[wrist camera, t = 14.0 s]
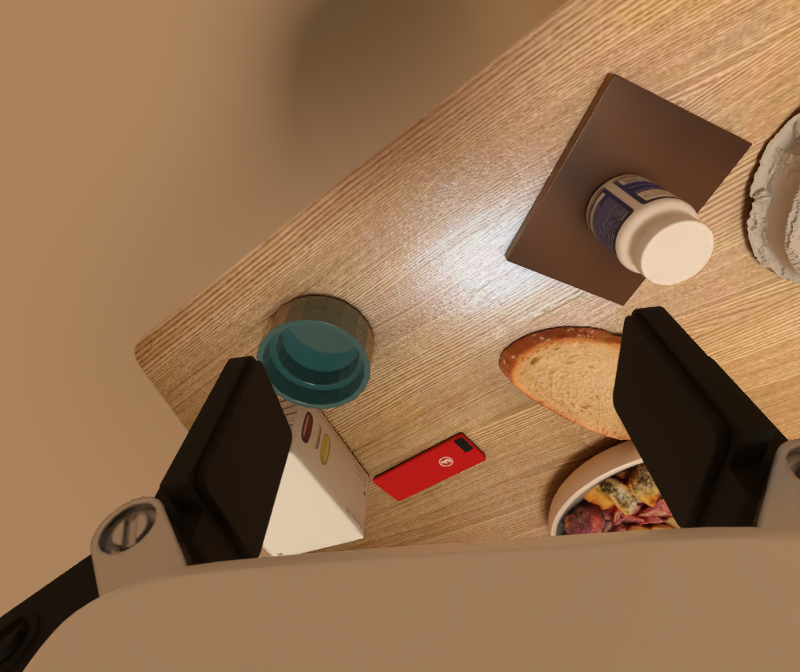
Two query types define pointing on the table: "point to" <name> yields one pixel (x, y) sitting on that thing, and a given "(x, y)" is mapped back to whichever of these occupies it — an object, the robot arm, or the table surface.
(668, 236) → the pill bottle
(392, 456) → the table surface
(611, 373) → the bread slice
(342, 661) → the robot arm
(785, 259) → the grey pie
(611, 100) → the walnut board
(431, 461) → the electronic device
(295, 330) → the teal bowl
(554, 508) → the bowl
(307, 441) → the supplement box
